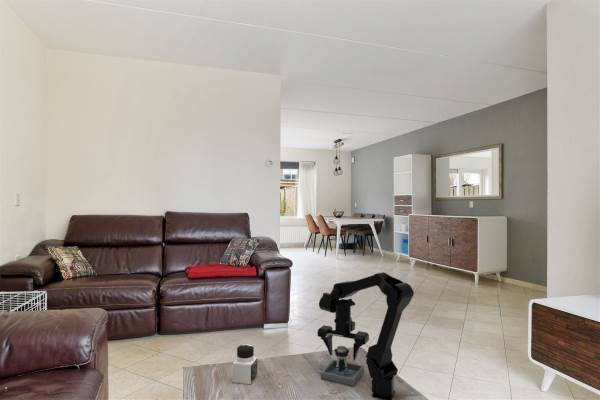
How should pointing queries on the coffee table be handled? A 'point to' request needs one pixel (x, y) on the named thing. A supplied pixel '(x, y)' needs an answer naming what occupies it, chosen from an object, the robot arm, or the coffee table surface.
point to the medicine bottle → (245, 365)
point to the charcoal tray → (346, 380)
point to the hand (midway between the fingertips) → (342, 357)
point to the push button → (341, 361)
